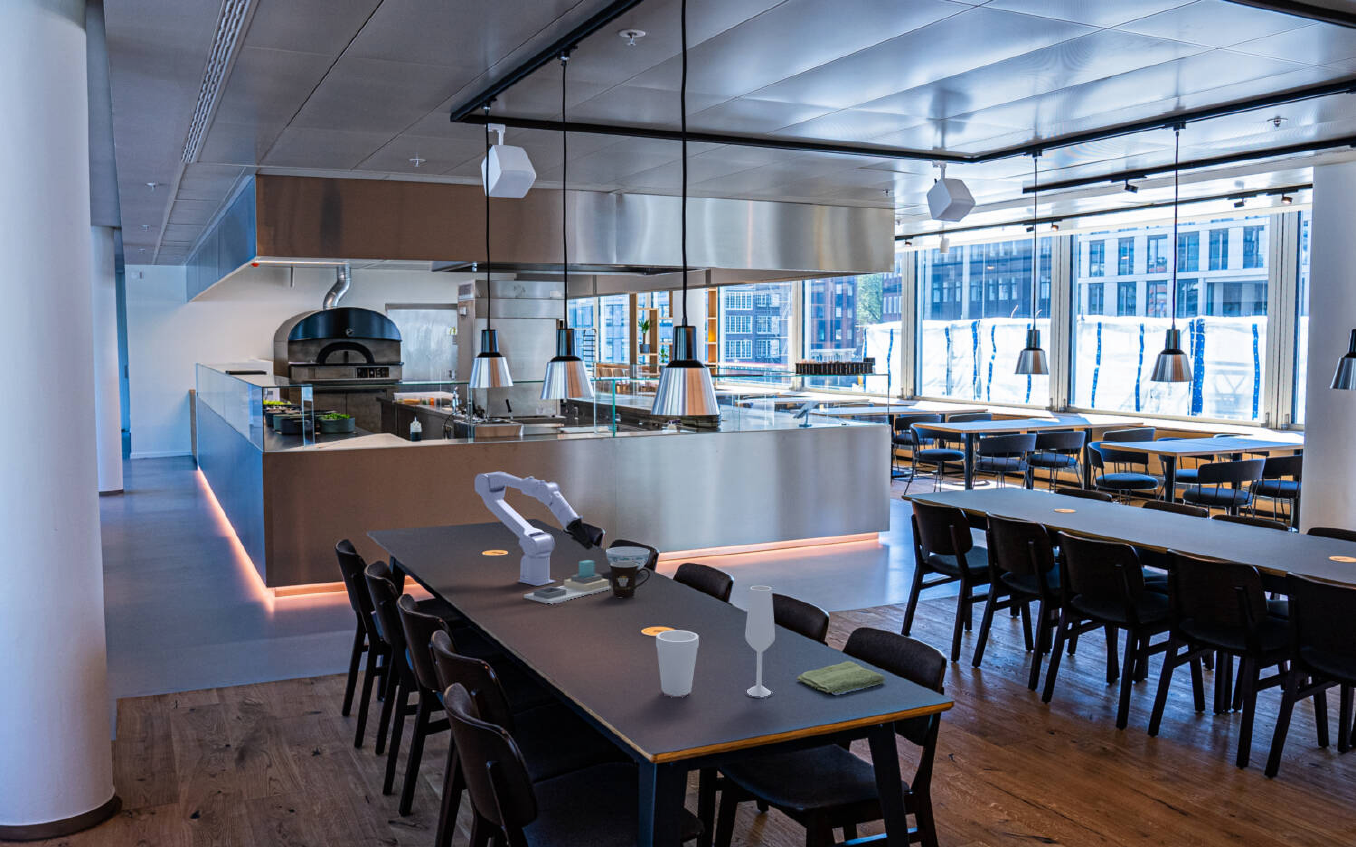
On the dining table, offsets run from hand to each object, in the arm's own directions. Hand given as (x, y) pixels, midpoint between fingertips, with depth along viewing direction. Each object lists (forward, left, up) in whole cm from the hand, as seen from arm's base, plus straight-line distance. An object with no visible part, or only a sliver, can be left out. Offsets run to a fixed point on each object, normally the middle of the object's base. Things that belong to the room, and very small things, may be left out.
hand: (588, 544), depth 322 cm
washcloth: (+106, -24, -16) cm, 109 cm away
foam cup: (+82, -55, -15) cm, 100 cm away
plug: (-2, +2, -12) cm, 12 cm away
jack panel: (-2, -6, -15) cm, 16 cm away
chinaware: (-9, +28, -15) cm, 34 cm away
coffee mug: (+14, +4, -15) cm, 21 cm away
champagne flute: (+96, -43, -15) cm, 106 cm away
